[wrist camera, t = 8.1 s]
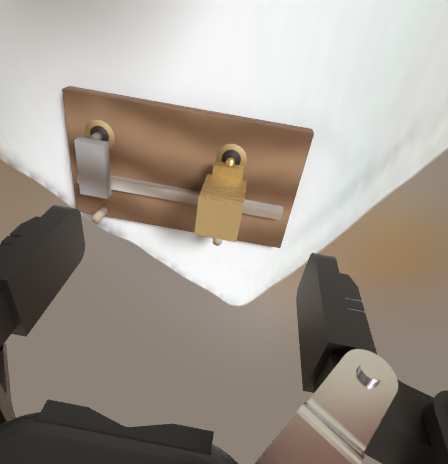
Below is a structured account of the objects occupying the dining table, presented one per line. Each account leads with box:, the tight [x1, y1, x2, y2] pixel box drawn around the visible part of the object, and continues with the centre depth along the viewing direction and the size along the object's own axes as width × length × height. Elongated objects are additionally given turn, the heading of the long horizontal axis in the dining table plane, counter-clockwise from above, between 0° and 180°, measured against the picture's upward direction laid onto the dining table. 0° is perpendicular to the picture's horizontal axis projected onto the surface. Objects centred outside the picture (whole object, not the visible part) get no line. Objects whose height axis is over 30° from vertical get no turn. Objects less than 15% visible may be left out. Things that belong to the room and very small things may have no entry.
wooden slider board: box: [62, 86, 314, 248], centre depth 36 cm, size 14×25×4 cm, turn 82°
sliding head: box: [194, 156, 247, 242], centre depth 33 cm, size 6×4×7 cm, turn 172°
